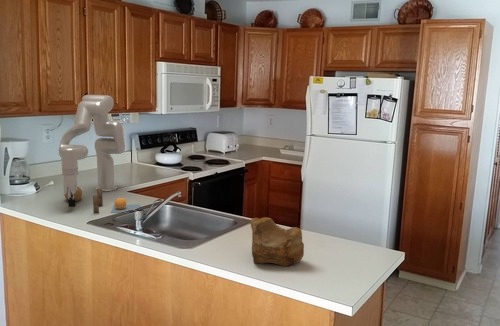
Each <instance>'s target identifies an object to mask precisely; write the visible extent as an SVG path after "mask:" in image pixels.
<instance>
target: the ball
mask: <svg viewBox="0 0 500 326" xmlns="http://www.w3.org/2000/svg"><path fill="white" fill-rule="evenodd" d="M114 205H115V207H116V208H117V209H123V208H125V206H126V205H127V201H126V199H125V198H123V197H118V198H116V199H115V201H114Z"/></svg>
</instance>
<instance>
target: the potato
mask: <svg viewBox="0 0 500 326" xmlns="http://www.w3.org/2000/svg"><path fill="white" fill-rule="evenodd" d="M63 196H64V198H65V199H66V200H68V193H67V194H66V195H64V194H63ZM82 196H83V190H82V189H81V188H80V187H79V186H77V191H76V192H75V198H74V199H75V201H76V202H77V201H79V200H81V197H82Z"/></svg>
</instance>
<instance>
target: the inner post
mask: <svg viewBox="0 0 500 326" xmlns="http://www.w3.org/2000/svg"><path fill="white" fill-rule="evenodd" d="M96 195H98V202H99V208H100V207H103V206H104V201H103V200H104V199H103V198H104V197H103V191H102V189H97V190H96Z"/></svg>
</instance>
